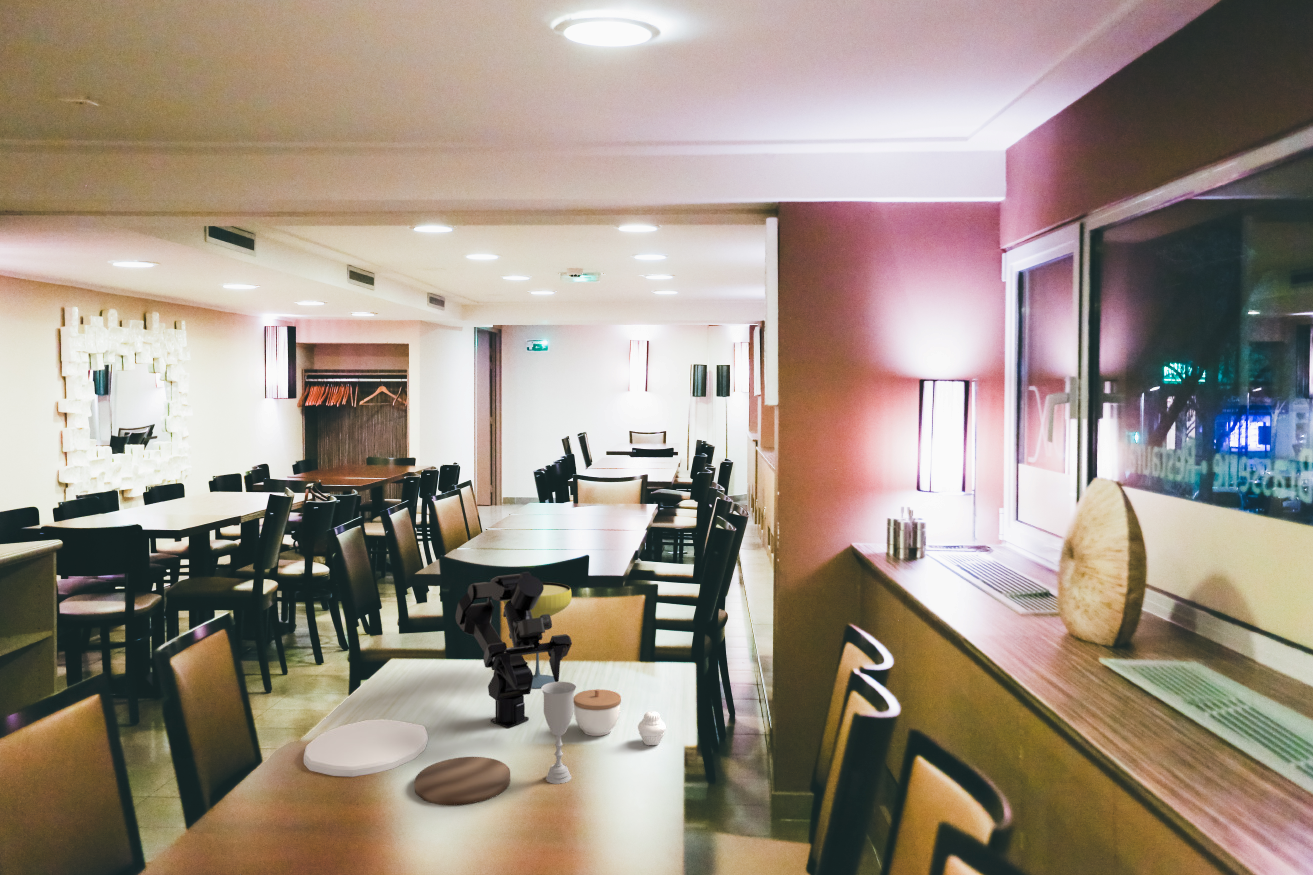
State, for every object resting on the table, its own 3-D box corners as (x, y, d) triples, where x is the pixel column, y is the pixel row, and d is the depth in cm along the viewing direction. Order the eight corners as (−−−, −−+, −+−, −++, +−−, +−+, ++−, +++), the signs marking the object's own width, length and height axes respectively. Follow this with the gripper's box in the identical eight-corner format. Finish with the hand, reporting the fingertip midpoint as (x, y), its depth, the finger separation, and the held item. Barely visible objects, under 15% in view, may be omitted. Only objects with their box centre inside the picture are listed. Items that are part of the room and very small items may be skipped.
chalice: (542, 770, 168) (542, 681, 167) (576, 769, 168) (576, 681, 168) (540, 786, 161) (540, 694, 160) (575, 785, 161) (575, 693, 161)
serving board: (395, 787, 160) (395, 779, 160) (468, 756, 175) (468, 749, 174) (456, 814, 149) (456, 806, 149) (529, 779, 164) (529, 771, 164)
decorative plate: (358, 705, 194) (449, 720, 185) (358, 723, 194) (449, 738, 185) (274, 746, 170) (374, 765, 162) (275, 766, 170) (374, 786, 162)
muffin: (669, 739, 184) (669, 708, 184) (660, 750, 178) (660, 717, 178) (643, 735, 186) (643, 704, 186) (633, 746, 180) (633, 714, 180)
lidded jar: (614, 741, 183) (614, 699, 182) (567, 738, 185) (567, 696, 184) (625, 723, 193) (625, 683, 193) (581, 720, 195) (581, 680, 195)
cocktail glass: (567, 693, 214) (567, 596, 213) (496, 693, 214) (496, 596, 213) (575, 671, 232) (575, 582, 231) (510, 671, 232) (509, 581, 231)
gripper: (486, 606, 178) (501, 671, 169) (568, 598, 187) (587, 659, 177) (477, 635, 186) (491, 699, 176) (556, 625, 194) (574, 686, 184)
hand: (537, 685), depth 178 cm, fingers open, 9 cm apart
